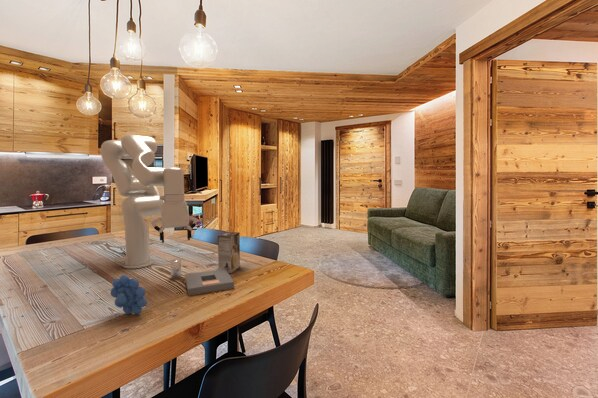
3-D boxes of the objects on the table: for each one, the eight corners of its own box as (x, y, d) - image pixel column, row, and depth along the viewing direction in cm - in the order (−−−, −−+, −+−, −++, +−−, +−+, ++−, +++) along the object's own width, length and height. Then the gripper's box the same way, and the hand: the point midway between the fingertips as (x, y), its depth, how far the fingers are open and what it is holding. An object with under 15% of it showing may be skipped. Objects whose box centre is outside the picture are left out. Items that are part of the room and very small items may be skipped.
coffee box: (227, 265, 134) (227, 231, 133) (240, 266, 133) (240, 232, 131) (218, 272, 125) (217, 235, 124) (231, 273, 124) (231, 236, 122)
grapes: (100, 318, 85) (98, 279, 84) (118, 308, 91) (116, 271, 90) (136, 322, 83) (134, 282, 82) (151, 311, 89) (150, 273, 88)
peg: (171, 279, 116) (170, 262, 115) (170, 276, 120) (170, 259, 119) (181, 278, 118) (181, 261, 117) (181, 274, 121) (180, 258, 121)
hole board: (188, 295, 101) (188, 288, 101) (185, 280, 115) (184, 273, 115) (234, 288, 108) (234, 281, 108) (225, 274, 122) (225, 268, 122)
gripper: (149, 200, 108) (151, 245, 110) (198, 198, 116) (199, 240, 117) (150, 199, 115) (152, 241, 117) (196, 197, 123) (197, 237, 124)
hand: (176, 240), depth 117 cm, fingers open, 9 cm apart
